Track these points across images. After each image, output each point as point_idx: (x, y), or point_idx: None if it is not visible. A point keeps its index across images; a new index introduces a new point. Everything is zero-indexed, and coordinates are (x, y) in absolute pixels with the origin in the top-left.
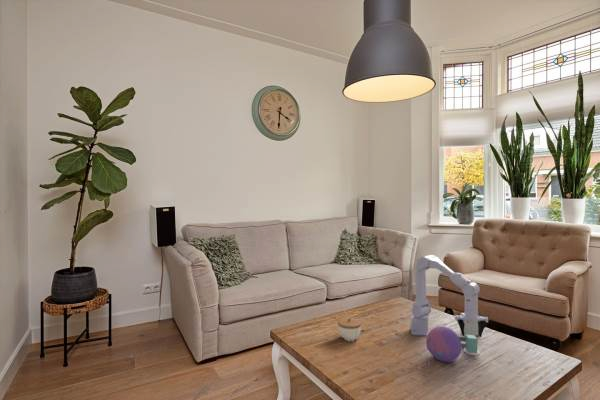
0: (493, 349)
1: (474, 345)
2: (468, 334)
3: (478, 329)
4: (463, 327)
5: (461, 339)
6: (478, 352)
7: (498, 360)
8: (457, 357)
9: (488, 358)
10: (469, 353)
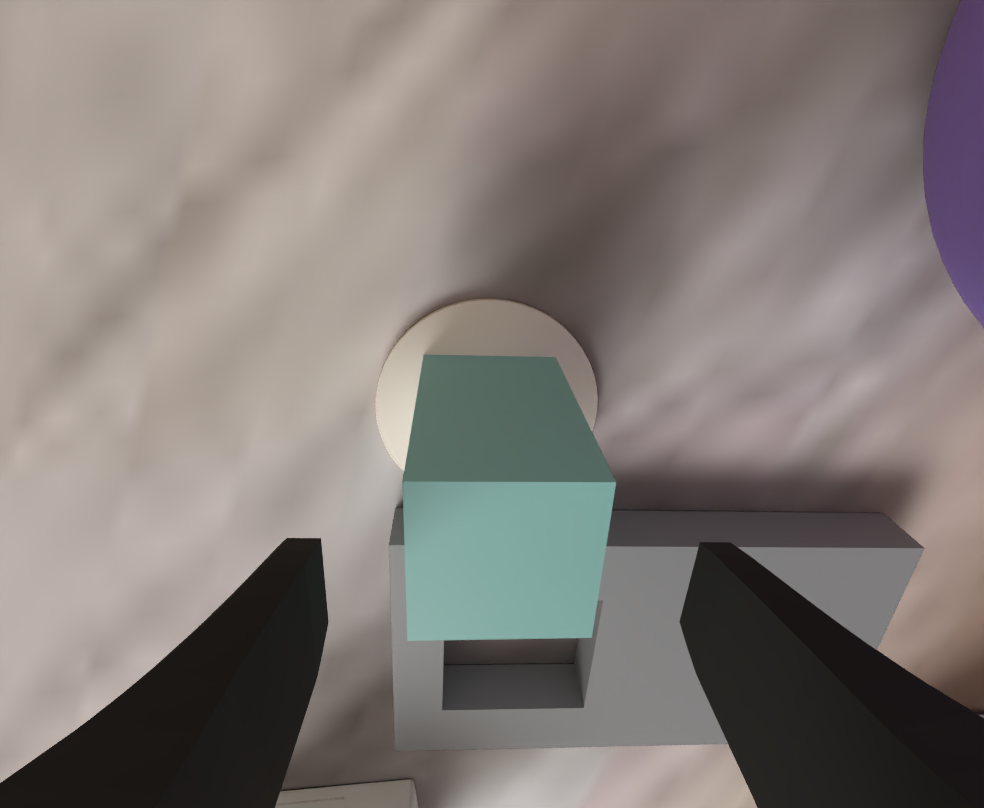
0: (149, 508)
1: (467, 405)
2: (372, 791)
3: (280, 770)
4: (930, 738)
5: (506, 678)
6: (399, 375)
7: (138, 157)
8: None
9: (292, 215)
10: (551, 327)
